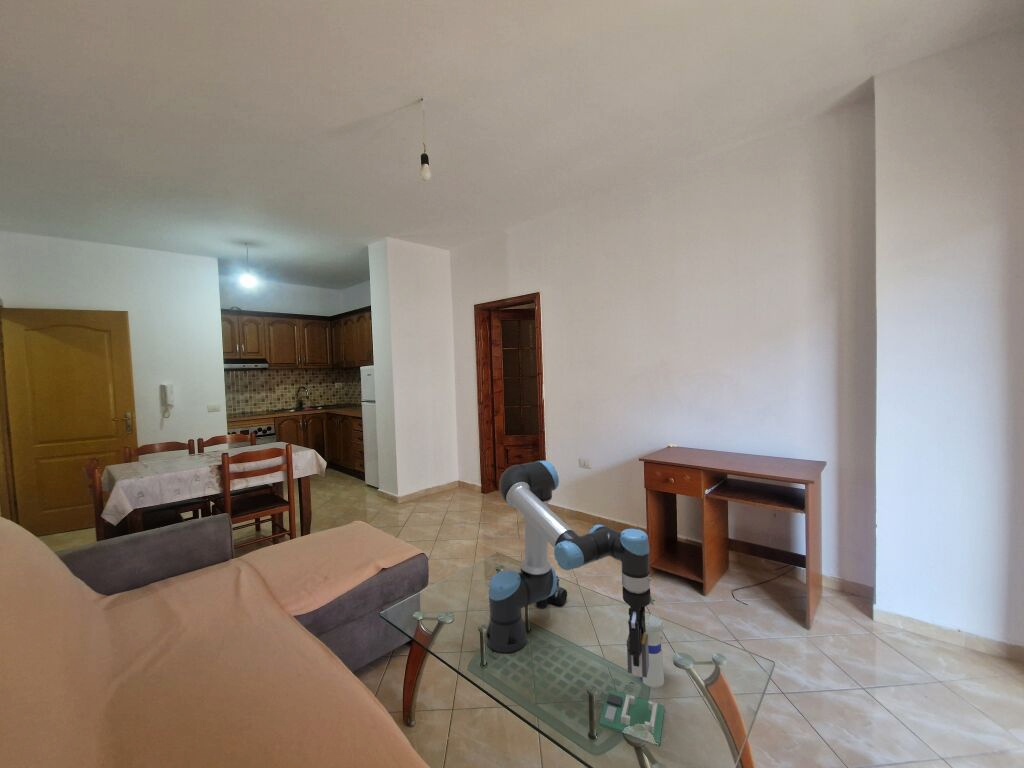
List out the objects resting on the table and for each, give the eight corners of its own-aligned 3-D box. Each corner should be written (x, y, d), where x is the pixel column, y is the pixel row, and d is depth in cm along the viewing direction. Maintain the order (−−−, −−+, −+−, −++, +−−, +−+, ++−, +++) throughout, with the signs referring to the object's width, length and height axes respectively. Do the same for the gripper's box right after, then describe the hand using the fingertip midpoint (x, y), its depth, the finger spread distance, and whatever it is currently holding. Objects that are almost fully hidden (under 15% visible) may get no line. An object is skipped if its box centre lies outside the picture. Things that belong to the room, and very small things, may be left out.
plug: (627, 672, 116) (626, 639, 116) (631, 661, 120) (630, 629, 120) (646, 677, 114) (645, 643, 114) (649, 665, 118) (648, 633, 118)
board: (599, 726, 116) (598, 715, 116) (609, 693, 128) (609, 683, 128) (659, 747, 109) (659, 735, 109) (664, 710, 121) (664, 699, 121)
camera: (554, 615, 169) (553, 591, 169) (533, 607, 176) (532, 584, 175) (572, 597, 182) (572, 575, 182) (552, 591, 188) (552, 569, 188)
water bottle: (633, 670, 138) (631, 595, 137) (658, 667, 138) (656, 593, 137) (642, 689, 129) (640, 610, 128) (669, 686, 130) (667, 608, 129)
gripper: (645, 606, 107) (648, 695, 107) (654, 574, 123) (656, 651, 124) (616, 600, 110) (618, 686, 111) (628, 570, 126) (630, 645, 127)
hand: (638, 668), depth 117 cm, fingers closed on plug, 5 cm apart
